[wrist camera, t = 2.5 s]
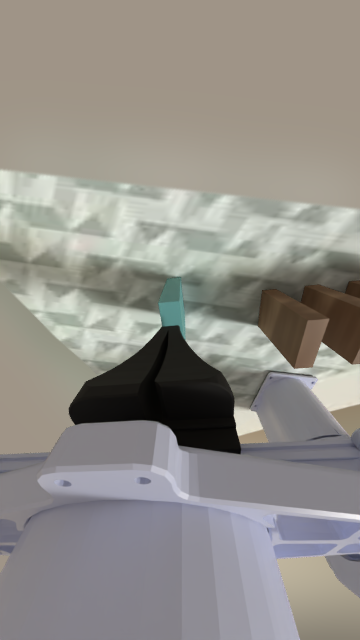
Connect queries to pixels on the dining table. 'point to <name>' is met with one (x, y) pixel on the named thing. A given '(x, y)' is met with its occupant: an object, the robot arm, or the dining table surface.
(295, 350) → the walnut domino
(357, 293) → the walnut domino
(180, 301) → the teal domino
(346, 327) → the walnut domino
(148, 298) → the dining table surface
